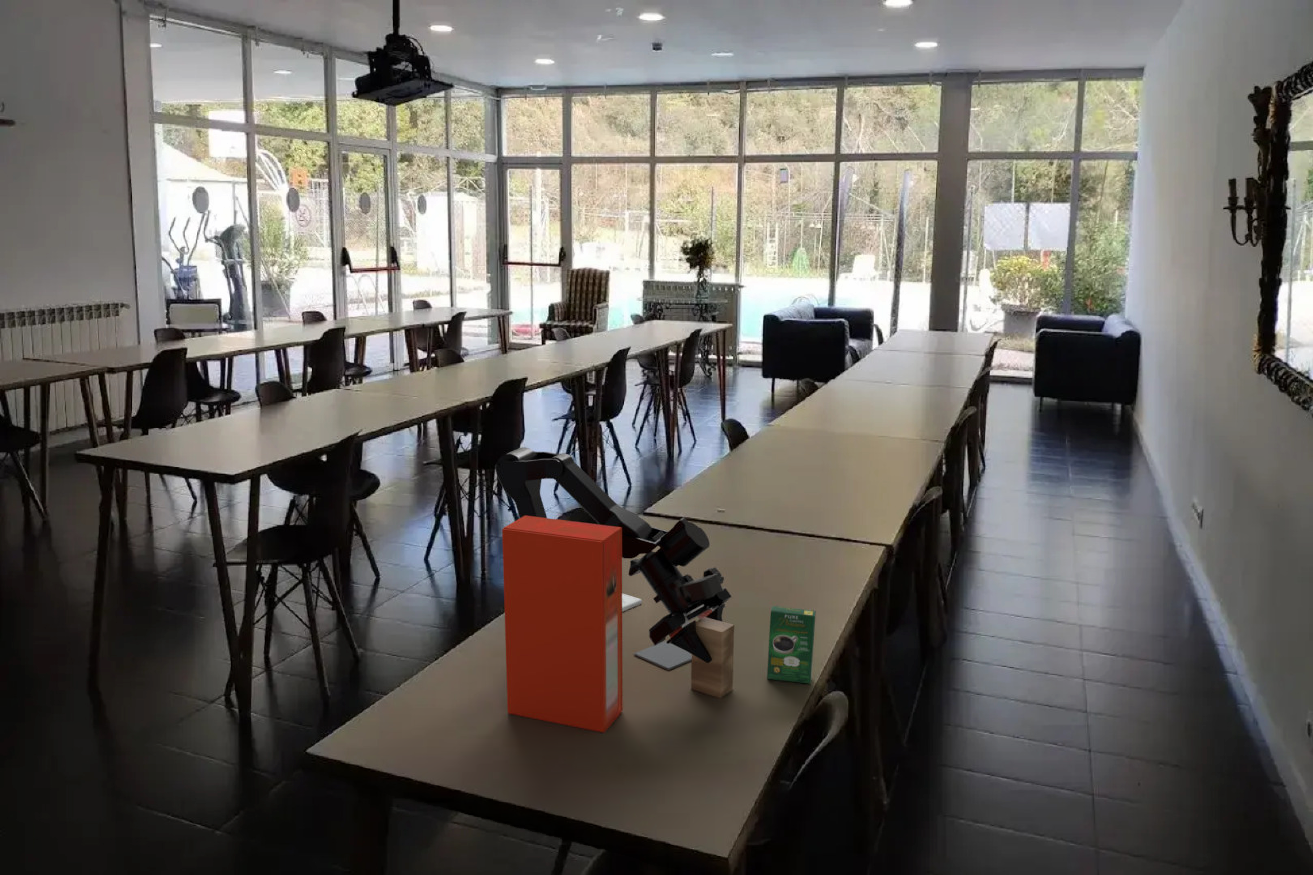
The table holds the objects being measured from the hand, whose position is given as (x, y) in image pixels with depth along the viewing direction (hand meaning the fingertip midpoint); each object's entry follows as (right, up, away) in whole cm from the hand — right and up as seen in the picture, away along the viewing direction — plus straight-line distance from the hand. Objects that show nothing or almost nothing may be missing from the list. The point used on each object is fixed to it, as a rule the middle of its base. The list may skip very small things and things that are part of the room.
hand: (719, 655), depth 175 cm
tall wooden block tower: (-1, -6, +2) cm, 7 cm away
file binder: (-26, -8, -7) cm, 28 cm away
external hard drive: (-21, +1, +40) cm, 45 cm away
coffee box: (+13, -6, +6) cm, 16 cm away
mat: (-8, -3, +17) cm, 19 cm away
